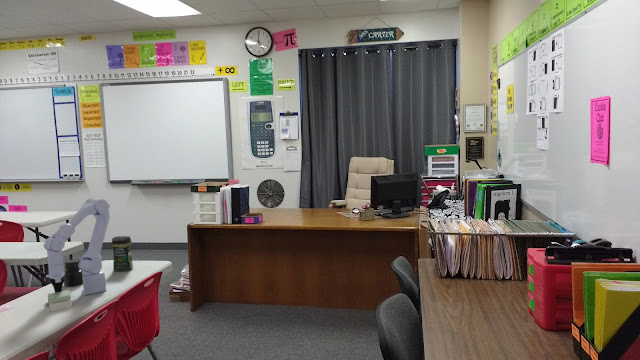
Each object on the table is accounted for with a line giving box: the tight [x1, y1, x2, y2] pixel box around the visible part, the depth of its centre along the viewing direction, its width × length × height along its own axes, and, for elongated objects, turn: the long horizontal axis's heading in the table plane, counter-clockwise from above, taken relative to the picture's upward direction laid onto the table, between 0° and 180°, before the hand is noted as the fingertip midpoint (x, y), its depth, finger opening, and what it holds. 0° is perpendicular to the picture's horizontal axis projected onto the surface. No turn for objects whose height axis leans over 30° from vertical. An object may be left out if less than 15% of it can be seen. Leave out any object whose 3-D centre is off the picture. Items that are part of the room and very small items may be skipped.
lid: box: [47, 289, 72, 305], centre depth 192 cm, size 8×8×2 cm
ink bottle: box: [63, 258, 83, 288], centre depth 221 cm, size 10×9×12 cm
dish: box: [48, 299, 73, 313], centre depth 191 cm, size 8×8×3 cm
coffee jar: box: [111, 235, 134, 272], centre depth 244 cm, size 10×8×19 cm
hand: (58, 294), depth 197 cm, fingers closed
